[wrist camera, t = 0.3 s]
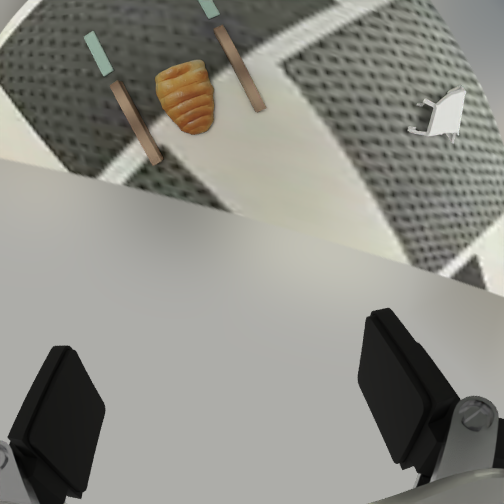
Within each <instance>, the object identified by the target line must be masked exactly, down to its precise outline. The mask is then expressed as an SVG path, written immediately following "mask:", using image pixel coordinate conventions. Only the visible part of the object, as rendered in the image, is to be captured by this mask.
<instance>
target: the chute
mask: <svg viewBox="0 0 504 504" xmlns="http://www.w3.org/2000/svg"><path fill="white" fill-rule="evenodd" d="M214 34H215V35H216V37H217V39H218V41H219V43H220V45H221V46H222V48H223V50H224V52H225V54H226V56H227V57H228V59H229V61H230V63H231V65H232V67H233V69H234V71H235V73H236V75H237V76H238V78H239V80H240V82H241V84H242V86H243V88H244V90H245V92H246V94H247V96H248V98H249V100H250V102H251V104H252V106H253V108H254V110H255V112H259V111H261V110H263V109H266V106H265V104H264V102H263V100H262V98H261V96H260V94H259V92H258V90H257V88H256V86H255V84H254V82H253V80H252V78H251V76H250V74H249V72H248V71H247V69H246V67H245V65H244V63H243V61H242V59H241V57H240V55H239V53H238V52H237V50H236V48H235V46H234V44H233V42H232V40H231V39H230V37H229V35H228V33H227V31H226V30H225V28H224V26H223V25H221V26H219V27H216V28H214ZM110 88H111V89H112V91H113V93H114V95H115V97H116V99H117V101H118V103H119V105H120V107H121V108H122V110H123V112H124V114H125V116H126V118H127V120H128V121H129V123H130V125H131V127H132V129H133V131H134V132H135V134H136V136H137V138H138V140H139V142H140V143H141V145H142V147H143V149H144V151H145V152H146V154H147V156H148V158H149V160H150V161H151V163H152V165H153V166H154V165H156V164H157V163H159V162H161V161H162V160H163V159H164V158H163V156H162V154H161V152H160V151H159V149H158V147H157V145H156V143H155V142H154V140H153V138H152V136H151V134H150V132H149V131H148V129H147V127H146V125H145V123H144V121H143V120H142V118H141V116H140V114H139V112H138V110H137V108H136V107H135V105H134V103H133V101H132V99H131V97H130V95H129V93H128V92H127V90H126V88H125V86H124V84H123V82H122V81H118V80H117V81H116V82H114V83H113V84H111V85H110Z"/></svg>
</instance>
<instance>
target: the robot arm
mask: <svg viewBox="0 0 504 504" xmlns="http://www.w3.org/2000/svg"><path fill="white" fill-rule="evenodd" d="M358 384H359V386H360V389H361V391H362V393H363V395H364V397H365V399H366V401H367V404H368V406H369V408H370V410H371V412H372V415H373V417H374V419H375V421H376V423H377V426H378V428H379V430H380V432H381V434H382V437H383V439H384V441H385V443H386V446H387V448H388V450H389V453H390V455H391V457H392V459H393V461H394V463H396V464H398V463H400V466H401V468H402V470H404V469H407V468H410V467H412V466H414V467H415V469H416V471H417V473H418V476H417V479H416V482H415V484H414V487H413V489H411V490H408V491H406V492H403V493H400V494H397V495H394V496H391V497H388V498H385V499H382V500H379V501H375V502H372V503H369V504H504V419H502V418H499V417H498V411H497V409H496V407H495V406H494V405H493V403H492V402H491V401H489V400H487V399H486V398H483V397H480V396H469V397H466V398H464V399H462V400H460V398H459V397H458V395H457V394H456V392H455V391H454V390H453V388H452V387H451V385H450V384H449V383H448V381H447V380H446V378H445V377H444V375H443V374H442V373H441V371H440V370H439V369H438V367H437V366H436V364H435V363H434V362H433V360H432V359H431V357H430V356H429V355H428V353H427V352H426V351H425V350H424V348H423V347H422V346H421V345H420V344H419V343H417V342H416V341H415V340H414V338H413V337H412V336H411V334H410V333H409V332H408V330H407V329H406V328H405V326H404V325H403V324H402V323H401V322H400V320H399V319H398V317H397V316H396V315H395V314H394V312H393V311H392V310H391V309H390V308H385V309H380V310H376V311H372V312H371V315H370V316H369V317H367V318H366V322H365V330H364V337H363V345H362V352H361V358H360V365H359V371H358ZM104 415H105V405H104V402H103V401H102V399H101V397H100V395H99V394H98V392H97V390H96V388H95V387H94V385H93V383H92V381H91V379H90V377H89V375H88V373H87V372H86V370H85V368H84V366H83V364H82V362H81V360H80V358H79V356H78V354H77V352H76V351H75V350H73V349H72V348H71V347H70V346H53V348H52V349H51V351H50V352H49V354H48V356H47V358H46V360H45V361H44V363H43V365H42V367H41V369H40V371H39V373H38V374H37V376H36V378H35V380H34V382H33V384H32V386H31V388H30V390H29V392H28V394H27V396H26V398H25V400H24V402H23V404H22V406H21V409H20V411H19V413H18V415H17V417H16V419H15V422H14V424H13V426H12V428H11V430H10V433H9V435H8V439H9V440H10V441H11V442H10V444H9V445H8V444H7V443H6V442H4V441H0V504H67V503H66V502H65V499H66V495H67V496H68V497H73V498H78V499H81V498H82V493H83V492H84V491H86V489H87V485H88V480H89V476H90V471H91V467H92V463H93V458H94V454H95V450H96V446H97V442H98V438H99V434H100V430H101V426H102V422H103V419H104Z"/></svg>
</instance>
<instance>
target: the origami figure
mask: <svg viewBox="0 0 504 504" xmlns="http://www.w3.org/2000/svg"><path fill="white" fill-rule="evenodd" d="M465 94H466V91H465V90H464V87H463V86H462V85H461V86H458V87H456V88H453V89H451V90H449V91H448V92H447V95H446V96H444V97H443V98H442V99H441V100H440V101H438V102H437V103H436V104H435V103H433V102H432V101H430V100H428V99H424V101H423V103H417V105H418V106H423V105H424V103H426V104H428V105H429V106H431V107H433V111H432V115H431V119H430V122H429V126H428V129H427V131H426V132H421V131H416V127H409V126H408V132H410V133H413V134H418V135H425V136H434V135H439V134H441V135H442V134H443V133H446V135H447V136H448V138H449V139H450V141H451V142H452V143H454V140H455V136H456V134H457V135H458V136H459V127H460V121H461V116H462V110H463V103H464V97H465ZM451 133H453V135H452V134H451Z"/></svg>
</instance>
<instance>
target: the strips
mask: <svg viewBox="0 0 504 504" xmlns="http://www.w3.org/2000/svg"><path fill="white" fill-rule="evenodd" d="M198 1H199V3H200V5H201V7H202V8H203V10H204V12H205V14H206V15H207V17H208V19H211V18H214V17H216V16H218V15H220V13H219V12H218V10H217V8H216V6H215V5H214V3H213V1H212V0H198ZM84 39H85V41H86V43H87V45H88V47H89V49H90V51H91V53H92V55H93V57H94V59H95V61H96V63H97V65H98V67H99V68H100V70H101V72H102V74H103V76H104V77H105V76H107V75H108V74H110V73H111V72H113V71H114V69H113V67H112V65H111V63H110V61H109V59H108V57H107V55H106V54H105V52H104V50H103V48H102V46H101V44H100V42H99V40H98V38H97V36H96V34H95V32H94V31H92V32H90V33H89V34H88V35H86V36H85V37H84Z"/></svg>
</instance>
